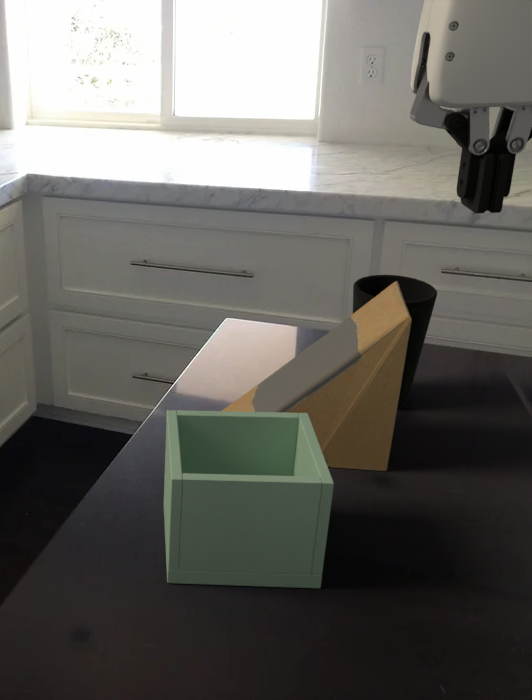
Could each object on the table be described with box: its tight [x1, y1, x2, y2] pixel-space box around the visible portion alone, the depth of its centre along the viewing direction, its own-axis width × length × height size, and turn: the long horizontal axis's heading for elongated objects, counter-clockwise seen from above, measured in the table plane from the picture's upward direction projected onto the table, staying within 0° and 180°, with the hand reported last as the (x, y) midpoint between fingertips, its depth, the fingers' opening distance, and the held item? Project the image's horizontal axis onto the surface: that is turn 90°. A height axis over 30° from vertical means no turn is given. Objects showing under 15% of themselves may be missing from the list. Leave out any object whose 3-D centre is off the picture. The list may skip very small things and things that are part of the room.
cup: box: [352, 274, 438, 410], centre depth 86 cm, size 8×8×12 cm
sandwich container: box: [221, 281, 412, 472], centre depth 78 cm, size 9×15×15 cm, turn 78°
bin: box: [163, 409, 335, 589], centre depth 65 cm, size 9×10×11 cm
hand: (480, 207), depth 60 cm, fingers closed
